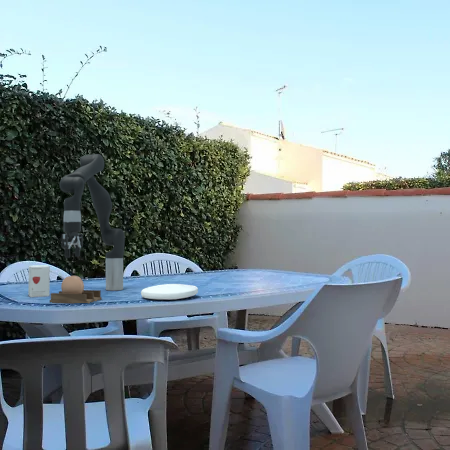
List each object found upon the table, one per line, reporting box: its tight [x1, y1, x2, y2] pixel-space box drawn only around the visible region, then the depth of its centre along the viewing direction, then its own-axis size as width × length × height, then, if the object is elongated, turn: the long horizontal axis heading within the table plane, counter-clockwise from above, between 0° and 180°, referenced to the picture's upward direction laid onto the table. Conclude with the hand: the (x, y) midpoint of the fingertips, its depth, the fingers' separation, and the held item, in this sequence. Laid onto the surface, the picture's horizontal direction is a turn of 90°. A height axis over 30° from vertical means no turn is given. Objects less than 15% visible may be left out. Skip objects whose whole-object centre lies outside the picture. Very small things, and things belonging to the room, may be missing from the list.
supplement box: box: [27, 264, 51, 298], centre depth 239 cm, size 9×9×15 cm
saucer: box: [60, 275, 85, 294], centre depth 217 cm, size 3×10×11 cm, turn 76°
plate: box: [140, 283, 199, 301], centre depth 231 cm, size 28×6×27 cm
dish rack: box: [49, 289, 103, 304], centre depth 220 cm, size 14×18×4 cm
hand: (72, 257), depth 217 cm, fingers open, 8 cm apart
